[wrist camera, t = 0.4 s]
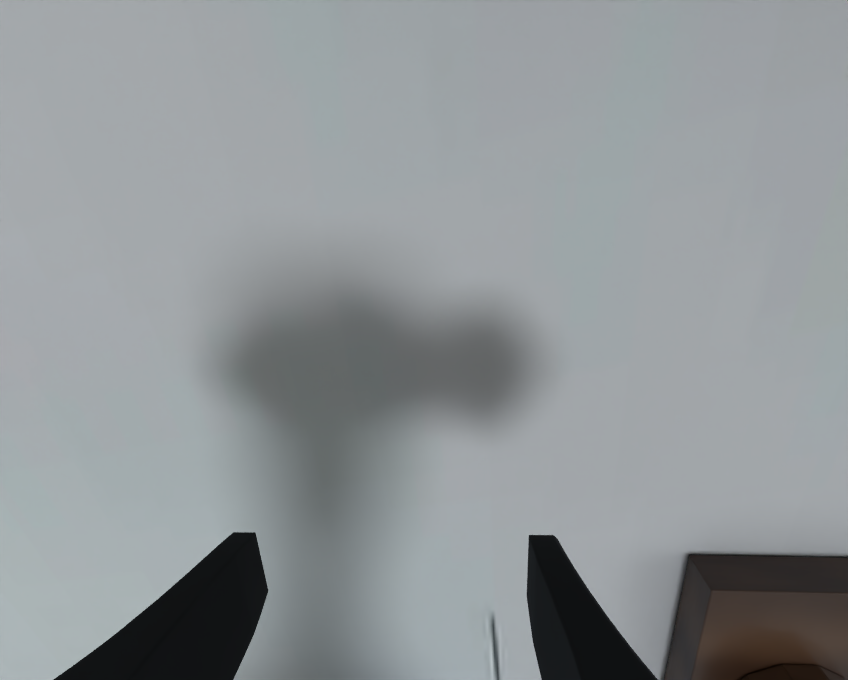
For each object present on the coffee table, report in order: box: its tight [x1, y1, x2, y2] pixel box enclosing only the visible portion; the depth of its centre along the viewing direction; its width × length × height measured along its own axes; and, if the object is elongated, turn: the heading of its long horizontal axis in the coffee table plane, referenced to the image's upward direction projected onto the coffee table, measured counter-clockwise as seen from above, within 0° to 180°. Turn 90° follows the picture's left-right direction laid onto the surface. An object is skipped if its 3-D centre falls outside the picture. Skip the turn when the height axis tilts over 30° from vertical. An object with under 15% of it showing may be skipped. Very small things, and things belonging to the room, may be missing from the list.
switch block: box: [664, 555, 848, 680], centre depth 23 cm, size 12×10×4 cm
